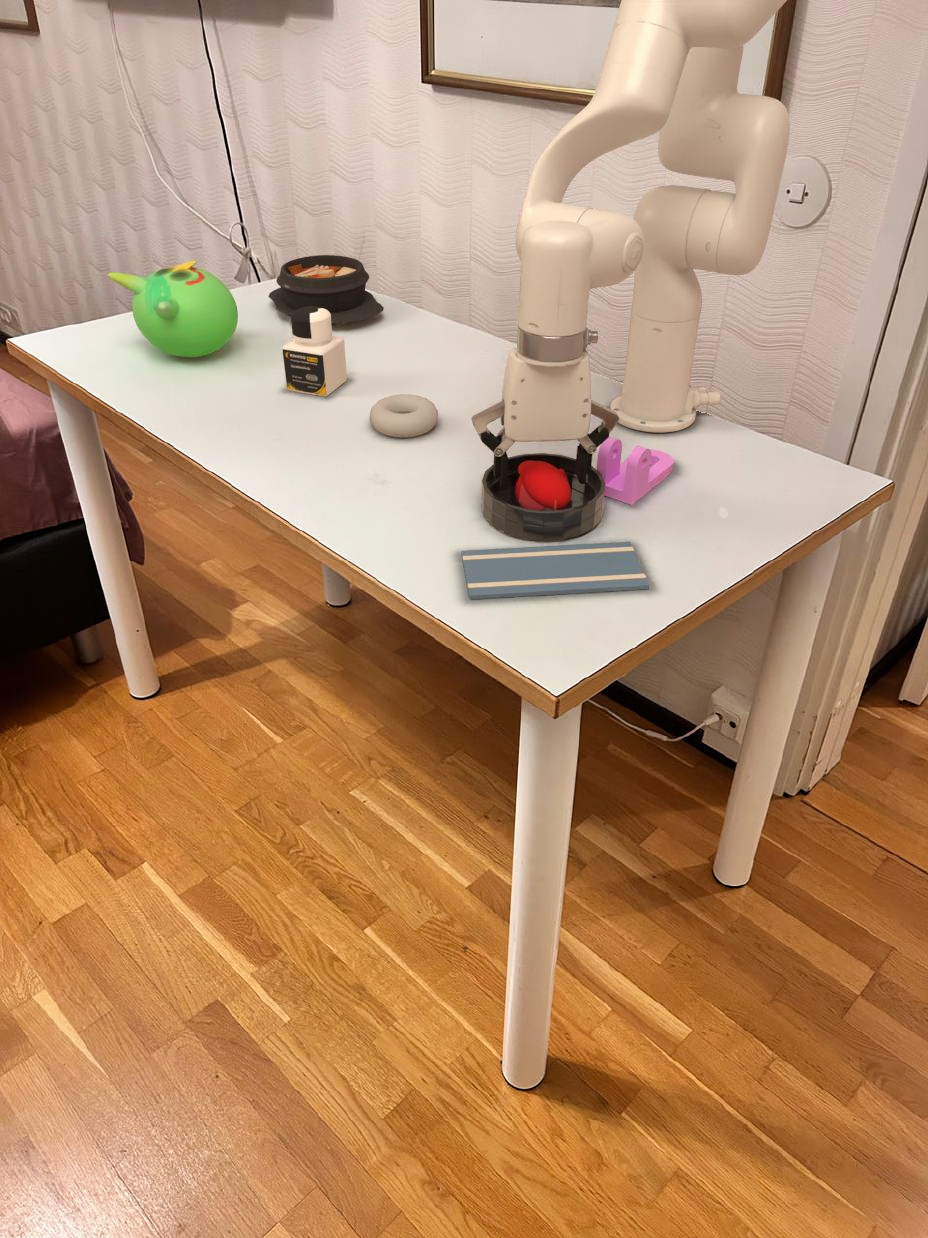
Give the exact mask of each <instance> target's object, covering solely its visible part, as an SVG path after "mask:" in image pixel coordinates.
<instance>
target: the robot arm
mask: <svg viewBox="0 0 928 1238" xmlns="http://www.w3.org/2000/svg"><path fill="white" fill-rule="evenodd" d="M787 1H788V0H620V4H619V8H618V11H617V14H616V17H615V19H614V20H615V21H614V25H613V28H612V30H611V35H610V38H609V42H608V44H607V48H606V51H605V55H604V59H603V62H602V65H601V69H600V72H599V76H598V79H597V82H596V86H595V91H594V93H593V95H592V97H591V100H590V101H589V103H588V104H587V105H586V106H585V107H583V108H582V109H581V110H580V111H579V112H578V113H577V114H576V115H574V116H573V117H572V118H571V119H570V120H569V121H568V122H567V123H565V125H564V126H562V128H561V129H559V131H558V132H557V134H556V135H555V136H554V137H553V138H552V139H551V141H550V142H549V143H548V144H547V146H546V147H545V148H544V149H543V151H542V152H541V154H540V155H539V156H538V159H537V160H536V163H535V164H534V166H533V168H532V171H531V173H530V177H529V180H528V183H527V186H526V189H525V193H524V196H523V200H522V204H521V208H520V210H519V215H518V220H517V224H516V231H515V249H516V253H517V256H518V258H519V260H520V271H519V293H518V294H519V295H518V312H517V313H518V315H517V334H516V335H517V338H516V347H514V348H512V349H511V350H509V351H508V352H509V353H508V355H507V360H506V365H505V371H504V376H503V382H502V383H503V384H502V391H501V393H502V394H501V400H500V401H499V402H498V403H495V404H493V405H492V406H489V407H488V408H486V409H484V410H482V411H481V410H480V412H478V413H476V414H474V415H472V417H471V423H472V426H473V428H474V429H475V432H476V433H477V435H478V437H479V438H480V441H481V443H483V445H484V446H486V447H487V448H488V449H489V450H490V451H491V452H492V453H493V464H492V465H493V473H494V477H498V478H499V482H500V485H501V487H505V486H506V485H507V473H508V457H509V456H508V453H507V451H508V450H509V449H510V448H511V447H512V446H513V445H514V444H515V443H529V442H530V443H532V442H536V443H537V442H561V441H563V442H565V441H576V440H577V441H578V445H577V446H576V447H577V448H576V455H575V459H576V466H575V474H576V476H577V479H578V481H579V483H581V484H585V483H586V475H587V474H590V473H591V466H593V465H592V464H593V463H592V462H593V456H594V455H593V454H595V453H596V452H597V449H598V448H599V447H600V446H601V444H602V443H603V442H604V441H605V440H606V439H607V438H608V437H610V434H611V432H612V431H613V430H614V429H615V427H616V426H617V424H620V425H621V426H624V427H625V428H628V429H631V430H634V431H635V430H636V431H639V432H646V433H654V434H655V433H662V434H663V433H664V434H665V433H673V432H677V431H678V432H679V431H681V430H685V429H686V428H688V427H690V426H691V425H692V424H693V423H694V422H695V421H696V416H697V408H699V407H700V406H703V405H705V406H718V405H720V403H721V393H720V391H718V390H717V391H716V390H715V391H708V390H707V387H706V386H696V387H692V385H691V377H692V372H693V365H694V357H695V351H696V345H697V338H698V332H699V326H700V319H701V314H702V308H703V307H702V306H703V293H702V288H701V285H700V281H699V278H698V277H697V274H696V272H695V270H699V271H706V272H711V273H716V274H723V275H729V276H744V275H748V274H749V273H751V272H753V271H755V269H756V268H757V266H758V265H759V263H761V260H762V258H763V255H764V253H765V250H766V248H767V243H768V240H769V235H770V231H771V227H772V222H773V218H774V213H775V209H776V204H777V200H778V195H779V190H780V185H781V180H782V177H783V172H784V167H785V163H786V158H787V154H788V147H789V141H790V134H791V133H790V130H791V129H790V127H791V124H790V115H789V112H788V109H787V107H786V105H784V103H783V102H782V101H780V100H779V99H777V98H774V97H770V96H768V95H759V94H749V93H748V94H746V93H739V92H738V84H739V77H740V71H741V66H742V65H741V64H742V60H743V54H744V45H746V44H747V43H749V42H750V41H751V40H752V39H753V38H755V36H756V35H758V33H759V32H760V31H761V30H762V29H763V28H764V26H765V25H766V24H767V23H768V22H770V20H771V19H772V17H774V15H775V14H776V13H778V11H779V10H780V9H781V8H782V6H783V5H784V4H785V3H786V2H787ZM657 133H658V139H657V155H658V160H659V162H660V164H661V166H662V167H664V168H665V169H666V170H668V171H671V172H673V173H677V174H681V175H687V176H694V177H701V178H707V179H715V180H722V181H729V182H732V183H734V186H735V193H734V192H733V193H732V192H726V191H718V190H712V189H709V188H701V187H693V186H688V185H687V186H686V185H676V184H669V185H659V186H657V187H654V188H652V189H650V190H649V191H647V192H645V193H644V194H643V196H642V197H641V198H640V199H639V201H638V203H637V205H636V207H635V209H634V214H633V217H631V216H629V215H627V214H625V213H622V212H621V213H620V212H617V211H611V210H604V209H598V208H593V207H589V206H581V205H575V204H569V203H563V200H564V197H565V194H566V193H567V190H568V189H569V186H570V184H571V183H572V181H573V180H574V178H575V177H576V176H577V175H579V172H581V171H582V170H583V169H584V168H585V167H586V166H587V165H589V164H590V163H591V162H593V161H595V160H596V159H598V158H600V157H602V156H603V155H605V154H607V153H610V152H613V151H615V150H616V149H620V148H622V147H624V146H628V145H630V144H632V143H635V142H639V141H640V140H643V139H646V138H649V137H650V136H653V135H655V134H657ZM694 269H695V270H694ZM632 274H634V276H633V289H632V298H631V299H632V301H631V310H630V316H629V317H630V318H629V327H628V336H627V344H626V345H627V347H626V356H625V365H624V374H623V382H622V392H621V395H618V396H617V397H615V398H614V399H613V400H612V401H611V402H610V406H609V407H607V406H605V405H603V404H602V403H599V402H597V401H595V400H593V399H592V373H591V362H590V354H589V352H588V350H587V348H588V346H589V345H591V344H598V341H599V332H598V331H597V330H591V329H588V327H587V323H588V322H587V321H588V313H589V299H590V291H591V290H592V289H598V288H607V287H611V286H615V285H618V284H620V283H622V282H624V281H625V280H627V279H628V278H629V277H630V276H631V275H632ZM591 416H594V417H597V418H598V419H601V422H600V423H601V424H599V425H598V426H597V427H596V428H594V430H592V431H591V433H589V432H590V429H591V428H590V427H591V421H592V420H591ZM498 419H500V424H501V426H502V428H501V429H500V431H498V433H497V434H496V435H495V434H494V433H493V432H492V431H491V430H489V428H488V427H487V426H488V425H489V424H491V423H492V422H494V421H496V420H498Z"/></svg>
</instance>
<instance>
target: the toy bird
mask: <svg viewBox="0 0 928 1238" xmlns="http://www.w3.org/2000/svg"><path fill="white" fill-rule="evenodd" d="M197 262H198V261H197V260H189V261H186V262H183V263H180V264H177V265H173V266H168V267H163V268H160V269H158V270H156V271H153V272H151V273H150V274H149V275H147V276H146V277H145V276H140V275H135V274H129V273H123V272H116V271H114V272H112V271H111V272H109V273H108V274H107V277H108V278H109V279H111V280H112V282H115V283H116V284H118V285H120V286H121V287H123V288H125V289H126V290H129V291H130V292H132V293H133V297H132V302H131V310H132V316H133V320H134V322H135V325H136V327H137V329H138V330H139V331H140V333H141V334H142V336H143V337H144V338H145V339H146V340H147V341H148V342H149V343H150V344H151V345H153V346H154V347H155V348H156V349H158V350H160V351H161V352H164V353H166V354H169V355H172V356H175V357H181V358H198V357H203V356H207V355H210V354H213V353H215V352H217V351H219V350H220V349H222V348H223V347H225V346H226V345H227V343H229V342H230V340H231V339H232V338H233V336H234V334H235V332H236V330H237V327H238V323H239V322H238V321H239V312H238V311H239V310H238V306H237V303H236V300H235V298H234V296H233V294H232V293H231V290H229V287H227V286H226V285H225V284H224V282H223V281H222V280H220V279H219V278H218V277H217V276H215V275H214V274H213V273H211V272H209V271H207V270H204V269H202V268H199V267H195V265H196V264H197Z"/></svg>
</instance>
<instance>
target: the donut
mask: <svg viewBox="0 0 928 1238" xmlns="http://www.w3.org/2000/svg"><path fill="white" fill-rule="evenodd" d="M369 411H370V412H369V416H368V417H369V421H370V424H371V425H372V427H373V429H375V430H376V431H378V432H379V433H380V434H383V435H386V436H389V437H393V438H412V437H417V436H421V435H424V434H426V433H428V432H430V431H431V430H432V429H433V428H435V426H436V425H437V422H438V418H439V411H438V409H437V407H436V405H435V403H433V401H432V400H429V399H428V398H426V397H423V396H420V395H416V394H409V393H408V394H407V393H405V394H402V393H401V394H394V395H393V394H392V395H389V396H386V397H383V398H381V399H379V400H378V401H377V402H375V403H374V404H373V405H372V407H371V408H370V410H369Z"/></svg>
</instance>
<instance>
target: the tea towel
mask: <svg viewBox="0 0 928 1238" xmlns="http://www.w3.org/2000/svg"><path fill="white" fill-rule="evenodd" d="M461 560H462V565H463V566H462V567H463V571H464V577H465V582H466V587H467V592H468V593H467V594H468V599H469V600H470V601H471V600H487V599H502V598H505V599H506V598H520V597H537V596H553V595H554V596H556V595H573V594H574V595H575V594H585V593H586V594H587V593H588V594H589V593H605V592H622V591H623V592H624V591H640V590H641V591H642V590H649V589H650V584H649V582H648V580H647V575H646V574H645V573H644V570H643V568H642V566H641V563H640V562H639V559H638V557H637V554H636V553H635V549H634V546H633V545H632V543H631V542H630V541H619V542H618V541H617V542H616V541H615V542H600V543H599V542H598V543H597V542H596V543H582V544H581V543H580V544H561V545H545V546H544V545H543V546H525V547H523V546H522V547H507V548H505V547H504V548H489V549H487V548H485V549H471V550H461Z"/></svg>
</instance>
